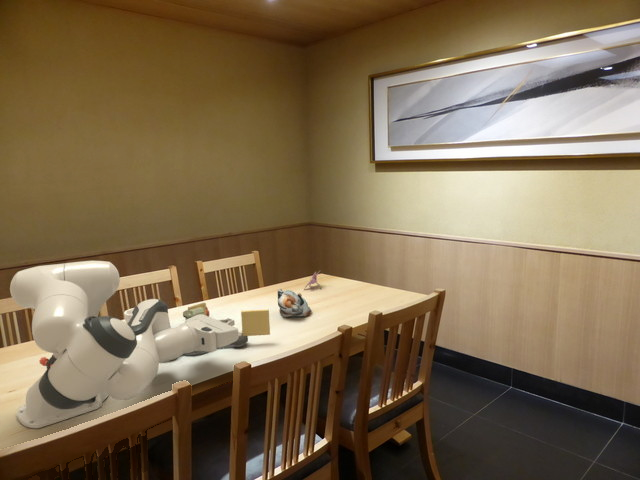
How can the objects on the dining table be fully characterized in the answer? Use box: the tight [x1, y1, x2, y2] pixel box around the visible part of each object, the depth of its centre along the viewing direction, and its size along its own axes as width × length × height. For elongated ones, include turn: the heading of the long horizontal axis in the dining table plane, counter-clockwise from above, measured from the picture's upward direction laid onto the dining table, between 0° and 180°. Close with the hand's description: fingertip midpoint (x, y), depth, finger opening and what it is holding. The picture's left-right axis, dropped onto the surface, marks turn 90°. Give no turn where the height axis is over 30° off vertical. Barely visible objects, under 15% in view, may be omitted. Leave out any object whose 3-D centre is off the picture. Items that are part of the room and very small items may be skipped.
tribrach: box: [168, 302, 246, 362], centre depth 159 cm, size 26×23×15 cm
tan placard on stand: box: [231, 308, 271, 345], centre depth 162 cm, size 6×14×11 cm, turn 95°
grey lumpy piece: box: [277, 288, 313, 318], centre depth 191 cm, size 15×12×14 cm
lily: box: [303, 270, 322, 290], centre depth 231 cm, size 12×12×10 cm
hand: (231, 321), depth 149 cm, fingers closed
